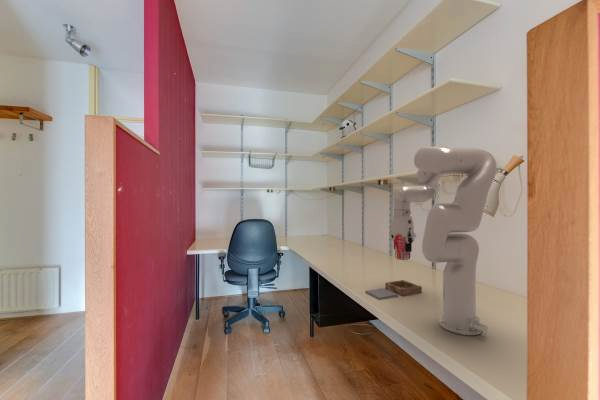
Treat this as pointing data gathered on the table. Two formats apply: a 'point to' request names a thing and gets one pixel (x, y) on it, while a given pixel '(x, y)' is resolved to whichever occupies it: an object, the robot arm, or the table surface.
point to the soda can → (401, 248)
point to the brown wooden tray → (406, 291)
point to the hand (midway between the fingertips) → (402, 250)
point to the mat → (381, 293)
